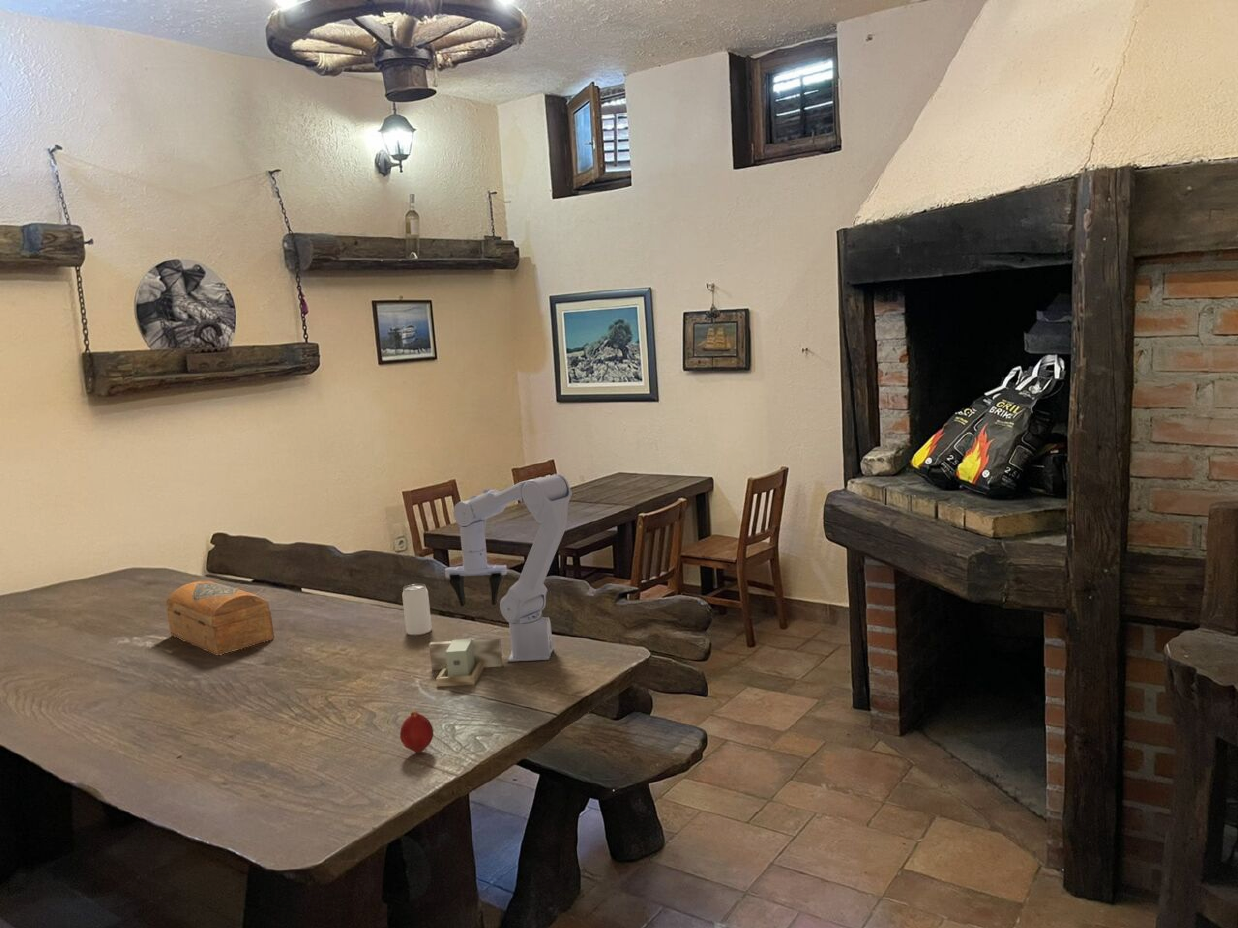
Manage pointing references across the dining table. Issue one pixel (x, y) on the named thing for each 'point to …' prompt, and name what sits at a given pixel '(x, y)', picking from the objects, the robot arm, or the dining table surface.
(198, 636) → the wooden box
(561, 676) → the dining table surface
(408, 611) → the can
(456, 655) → the cabinet block
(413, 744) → the onion
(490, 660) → the wall board
